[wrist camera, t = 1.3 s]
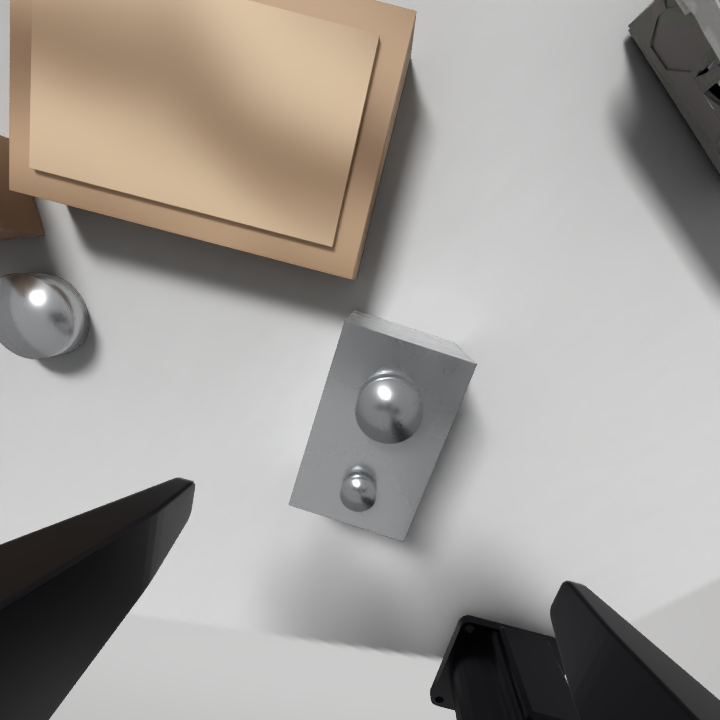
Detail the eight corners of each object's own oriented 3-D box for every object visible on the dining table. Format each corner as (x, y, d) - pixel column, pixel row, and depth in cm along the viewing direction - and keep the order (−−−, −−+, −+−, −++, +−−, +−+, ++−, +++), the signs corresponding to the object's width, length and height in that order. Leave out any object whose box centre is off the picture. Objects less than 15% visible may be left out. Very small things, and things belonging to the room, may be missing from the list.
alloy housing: (398, 481, 19) (404, 556, 14) (310, 452, 19) (283, 518, 14) (453, 341, 17) (482, 370, 12) (354, 309, 17) (342, 324, 12)
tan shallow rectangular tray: (356, 278, 16) (351, 279, 14) (64, 202, 16) (4, 188, 14) (410, 56, 14) (417, 6, 12) (74, -32, 14) (4, -101, 12)
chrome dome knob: (90, 360, 18) (65, 368, 17) (16, 341, 18) (-15, 347, 17) (95, 285, 17) (68, 285, 16) (17, 264, 17) (-16, 263, 16)
